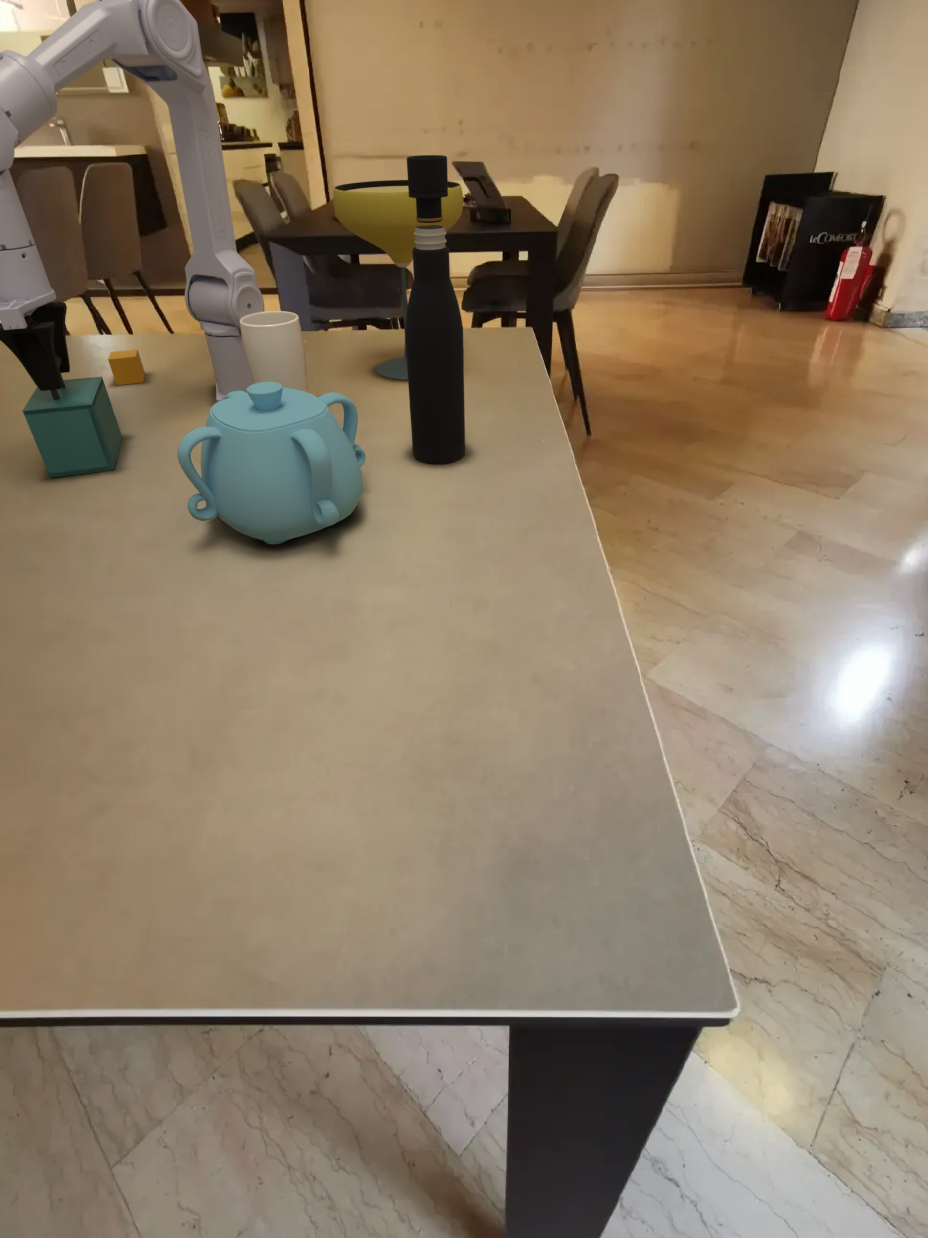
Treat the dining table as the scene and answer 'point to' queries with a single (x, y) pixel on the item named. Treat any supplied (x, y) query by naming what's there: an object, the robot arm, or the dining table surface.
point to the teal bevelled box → (74, 427)
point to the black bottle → (433, 325)
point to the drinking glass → (275, 348)
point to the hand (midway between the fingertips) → (55, 380)
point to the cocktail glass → (390, 230)
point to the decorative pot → (275, 462)
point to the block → (126, 367)
